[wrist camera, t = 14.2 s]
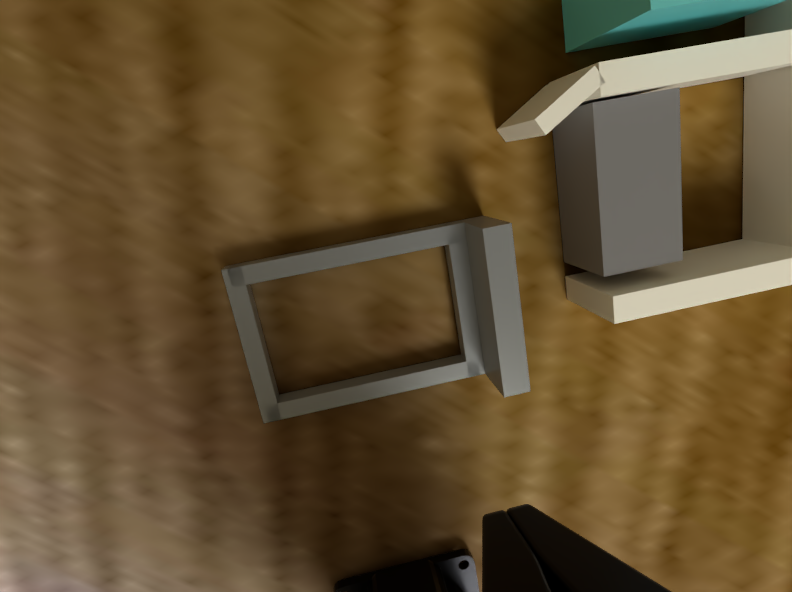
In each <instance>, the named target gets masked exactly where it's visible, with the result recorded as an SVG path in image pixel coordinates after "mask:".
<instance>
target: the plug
mask: <svg viewBox="0 0 792 592" xmlns="http://www.w3.org/2000/svg"><path fill="white" fill-rule="evenodd" d="M783 1H786V0H562V12H563V24H564V37H565V49H566V53H568V52H574V51H580V50H586V49H592V48H597V47H603V46H609V45H615V44H621V43H627V42H632V41H638V40H644V39H650V38H656V37H662V36H667V35H673V34H679V33H685V32H691V31H697V30H703V29H708V28H714V27H717V26H720V25H722V24H725V23H728V22H730V21H733V20H736V19H738V18H741V17H744V16H746V15H749V14H751V13H754V12H757V11H759V10H762V9H765V8H767V7H770V6H773V5H775V4H778V3H781V2H783Z"/></svg>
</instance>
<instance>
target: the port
mask: <svg viewBox="0 0 792 592" xmlns="http://www.w3.org/2000/svg"><path fill="white" fill-rule="evenodd" d="M739 77H744V136H743V222H742V239H740V240H735V241H730V242H726V243H721V244H716V245H711V246H707V247H702V248H697V249H692V250H688V251H683V235H682V187H681V139H680V91H679V88H683V87H688V86H694V85H699V84H705V83H711V82H716V81H722V80H728V79H733V78H739ZM581 105H582V106H581ZM552 129H553V141H554V152H555V164H556V176H557V187H558V199H559V210H560V222H561V233H562V245H563V257H564V262H565V263H568V264H570V265H573V266H576V267H578V268H581V269H584V270H587V271H588V272H583V273H578V274H573V275H569V276H565V280H566V291H567V299H568V300H570V301H572V302H574V303H575V304H577V305H579V306H581V307H583V308H585V309H587V310H589V311H591V312H593V313H595V314H597V315H599V316H600V317H602V318H604V319H606V320H608V321H610V322H612V323H614V324H616V323H621V322H625V321H630V320H634V319H639V318H643V317H648V316H652V315H657V314H661V313H666V312H670V311H675V310H679V309H684V308H688V307H693V306H697V305H702V304H706V303H711V302H715V301H720V300H725V299H729V298H734V297H738V296H743V295H747V294H752V293H756V292H761V291H765V290H770V289H774V288H779V287H783V286H788V285H792V0H786V1H783V2H781V3H778V4H775V5H773V6H770V7H767V8H765V9H762V10H759V11H757V12H754V13H751V14H749V15H746V16H745V37H744V38H738V39H732V40H726V41H720V42H714V43H708V44H703V45H697V46H691V47H685V48H679V49H673V50H667V51H661V52H656V53H650V54H644V55H638V56H632V57H626V58H620V59H614V60H609V61H603V62H598V63H596V64H593V65H591V66H588V67H586V68H583V69H581V70H578V71H576V72H574V73H571V74H569V75H566V76H564V77H561V78H559V79H557V80H554V81H552V82H549V84H548V85H545V86H544V87H543V88H542V89H541V90H540V91H539V92H538V93H537V94H535V95H534V96H533V97H532V98H531V99H530V100H529V101H528V102H527V103H525V104H524V105H523V106H522V107H521V108H520V109H519V110H518V111H517V112H515V113H514V114H513V115H512V116H511V117H510V118H509V119H508V120H507V121H505V122H504V123H503V124H502V125H501V126H500V127H499V128H498V129H497V131H498V132H499V133H500V135H501V136H502V137H503V139H504V140H505V141H506V142H510V141H515V140H521V139H527V138H532V137H538V136H543V135H546V134H548V133H549V132H550V131H551V130H552Z"/></svg>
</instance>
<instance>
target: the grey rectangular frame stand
mask: <svg viewBox="0 0 792 592" xmlns="http://www.w3.org/2000/svg"><path fill="white" fill-rule="evenodd" d="M444 245H445V251H446V258H447V264H448V271H449V278H450V284H451V291H452V298H453V304H454V311H455V318H456V324H457V331H458V337H459V344H460V351H461V355H456V356H452V357H447V358H443V359H438V360H434V361H429V362H425V363H420V364H415V365H411V366H406V367H402V368H397V369H393V370H388V371H384V372H379V373H375V374H370V375H366V376H361V377H357V378H352V379H347V380H343V381H338V382H334V383H329V384H325V385H320V386H316V387H311V388H307V389H302V390H298V391H293V392H289V393H284V394H280V395H279V392H278V388H277V384H276V380H275V377H274V373H273V369H272V365H271V361H270V358H269V354H268V350H267V346H266V342H265V339H264V335H263V331H262V327H261V323H260V319H259V316H258V312H257V308H256V304H255V300H254V297H253V293H252V289H251V285H250V284H253V283H258V282H263V281H268V280H273V279H278V278H283V277H288V276H293V275H299V274H304V273H309V272H314V271H319V270H324V269H329V268H334V267H339V266H344V265H349V264H354V263H359V262H364V261H369V260H374V259H379V258H384V257H389V256H394V255H399V254H404V253H409V252H414V251H419V250H424V249H429V248H434V247H439V246H444ZM221 271H222V275H223V278H224V282H225V286H226V289H227V293H228V296H229V300H230V304H231V307H232V311H233V315H234V318H235V322H236V325H237V329H238V333H239V336H240V340H241V343H242V347H243V351H244V354H245V358H246V362H247V365H248V369H249V372H250V376H251V380H252V383H253V387H254V390H255V394H256V398H257V401H258V405H259V409H260V412H261V416H262V419H263V423H268V422H273V421H277V420H282V419H286V418H290V417H295V416H299V415H304V414H308V413H313V412H317V411H321V410H326V409H330V408H335V407H339V406H344V405H348V404H353V403H357V402H361V401H366V400H370V399H375V398H379V397H384V396H388V395H392V394H397V393H401V392H406V391H410V390H415V389H419V388H424V387H428V386H432V385H437V384H441V383H446V382H450V381H455V380H459V379H463V378H468V377H472V376H477V375H481V374H486V375H487V376H488V378H489V379H490V380H491V381H492V383H493V384H494V385H495V386H496V388H497V389H498V390H499V391H500V393H501V394H502V395H503V396H504V397H508V396H512V395H517V394H521V393H525V392H530V383H529V374H528V365H527V356H526V347H525V339H524V330H523V321H522V312H521V303H520V294H519V285H518V276H517V268H516V259H515V250H514V241H513V232H512V223H509V222H505V221H502V220H498V219H494V218H490V217H487V216H479V217H474V218H469V219H464V220H459V221H454V222H449V223H444V224H438V225H433V226H428V227H423V228H418V229H413V230H408V231H403V232H398V233H392V234H387V235H382V236H377V237H372V238H367V239H362V240H357V241H352V242H346V243H341V244H336V245H331V246H326V247H321V248H316V249H311V250H306V251H300V252H295V253H290V254H285V255H280V256H275V257H270V258H265V259H259V260H254V261H249V262H244V263H239V264H234V265H229V266H225V267H224V268H223V269H222V270H221Z"/></svg>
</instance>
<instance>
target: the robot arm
mask: <svg viewBox="0 0 792 592" xmlns="http://www.w3.org/2000/svg"><path fill="white" fill-rule="evenodd" d="M463 560H466V561H465V562H463V563H460V562H461V561H463ZM343 591H347V592H479V588H478V581H477V575H476V569H475V563H474V560H473V557H472V555H471V552H469V551H468V550H465V549H460V550H456V551H452V552H448V553H444V554H441V555H437V556H433V557H429V558H425V559H421V560H417V561H413V562H409V563H406V564H402V565H398V566H394V567H390V568H386V569H382V570H378V571H374V572H371V573H367V574H363V575H359V576H355V577H351V578H347V579H343V580H341V581H338V582H337V583H336V584H335V586H334V588H333V592H343ZM482 592H671V591H670V590H668V589H666V588H665V587H663V586H661V585H660V584H658V583H657V582H655V581H653V580H652V579H650V578H648V577H647V576H645V575H644V574H642V573H640V572H639V571H637V570H635V569H634V568H632V567H631V566H629V565H627V564H626V563H624V562H622V561H621V560H619V559H618V558H616V557H614V556H613V555H611V554H609V553H608V552H606V551H605V550H603V549H601V548H600V547H598V546H596V545H595V544H593V543H592V542H590V541H588V540H587V539H585V538H583V537H582V536H580V535H579V534H577V533H575V532H574V531H572V530H570V529H569V528H567V527H565V526H564V525H562V524H561V523H559V522H557V521H556V520H554V519H552V518H551V517H549V516H548V515H546V514H544V513H543V512H541V511H539V510H538V509H536V508H535V507H533V506H531V505H528V504H524V505H520V506H516V507H512V508H509V509H508V510H507V511H506V512H505V511H503V510H501V511H497V512H493V513H489V514H485V515H484V516H483V520H482Z"/></svg>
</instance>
